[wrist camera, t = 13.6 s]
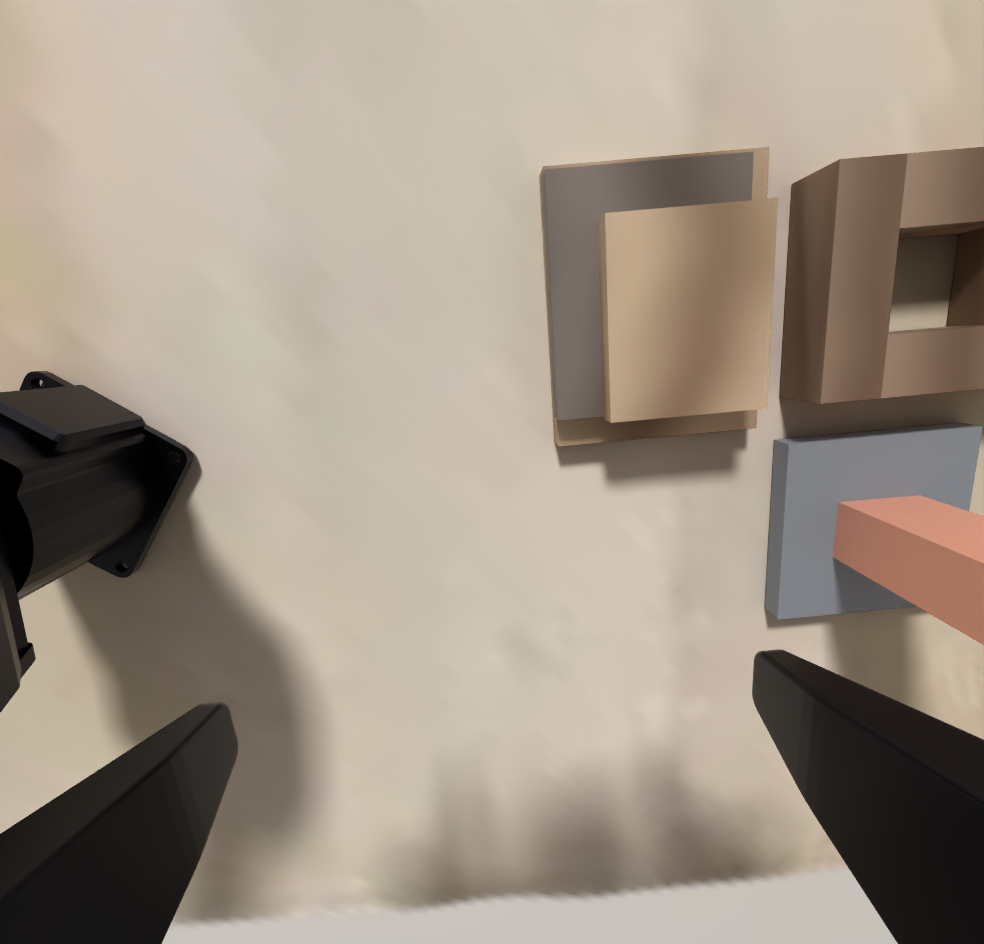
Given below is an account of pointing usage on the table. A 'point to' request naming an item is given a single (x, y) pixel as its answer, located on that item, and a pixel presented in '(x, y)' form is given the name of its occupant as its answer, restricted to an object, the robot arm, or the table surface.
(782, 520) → the grey mat
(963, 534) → the pink bar
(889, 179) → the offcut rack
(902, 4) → the table surface
